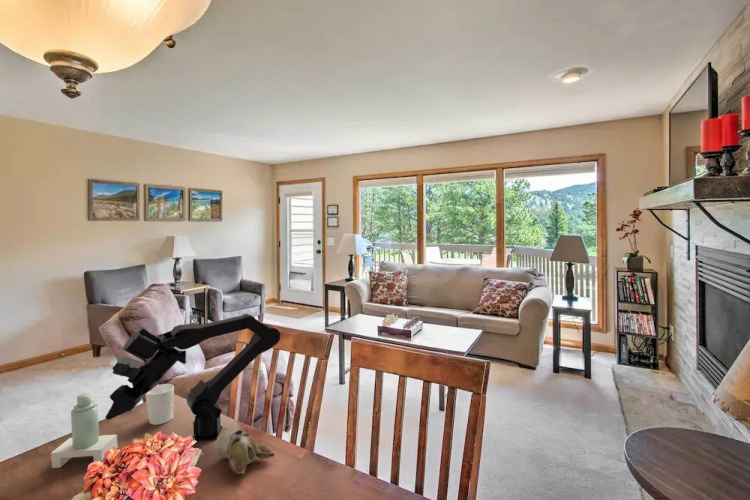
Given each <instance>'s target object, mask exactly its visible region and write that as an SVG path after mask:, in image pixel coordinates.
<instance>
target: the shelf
mask: <svg viewBox="0 0 750 500" xmlns="http://www.w3.org/2000/svg"><path fill="white" fill-rule="evenodd" d="M118 446H119V445H118V434H105V435H104V434H103V435H99V441H98V442H97V443H96V444H95V445H93V446H91V447H88V448H84V449H74V448H73V444H72V437H69V438H68V439H67V440H65V441H64V442H63V443H61V444H60V445H59V446H58V447H57V448H55V449H54V450H53V451H52V452H50V458H51V460H50V461H51V468H52V469H59V468H61V467H63V466H64V465H65V464H66V463H67V462H68V461H70V459H72V458H79V457H80V458H83V457H93V462H94V461H101V460H103V458H104V454H105V453H106V452H107V451H108V450H109V449H110V448H113V447H115V448H118V449H119V447H118Z"/></svg>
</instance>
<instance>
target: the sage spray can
mask: <svg viewBox="0 0 750 500" xmlns="http://www.w3.org/2000/svg"><path fill="white" fill-rule="evenodd" d="M91 395H92V394H91V393H89V392H87V393H82V394H79V395H78V396H77V398H76V400H77V401H76V402H77V404H75V405H74V406H73V409H71V411H70V418H71V420H70V421H71V423H70V424H71V438H72V444H73V448H74V449H84V448H88V447H91V446H93V445H95V444H96V443H97V442H98V441H99V436H100V432H99V431H100V430H99V429H100V428H99V407H98V406H99V405H98V404H96V402H95V401H93V400H91V399H92V398H91Z"/></svg>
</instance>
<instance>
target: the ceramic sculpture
mask: <svg viewBox="0 0 750 500" xmlns="http://www.w3.org/2000/svg"><path fill="white" fill-rule="evenodd" d="M221 431H222V432H221V433H220V434H221V435H220V438H219V442H218V445H217V446H218V447H217V454H218V456H219V457H220V459H227V460H228V462H227V463H228V466H229V468H230V470H231V471H232V472H233V474H234V475H238V476H242V477H244V476H245V474H246V471H247V468H248V467H247V466H248V464H251V463H252V462H253V461H254V460H255V458H256V457H257V458H258V459H260V460H264V459H268V458H272V457H274V456H275V453H273V452H271V450H270V449H269V448H268V446H267V445H266V444H263V442H257V440H256V438H255V437H254V436H252V435H251V434H250V433H249V434H248V433H246V432H245V431H244V430H243V429H239V430H236V429H234V428H228V427H223V428H222V430H221Z"/></svg>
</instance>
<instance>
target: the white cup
mask: <svg viewBox="0 0 750 500" xmlns="http://www.w3.org/2000/svg"><path fill="white" fill-rule="evenodd" d="M144 395H145V402H146V409H147V415H148V422H149V424H150V425H155V426H156V425H163V424H165V423H168V422H169V421H171V420H172V419H173V418H174V408H175V386H174V385H173V384H172V383H162V384H157V385H156V386H155V387H154V388H153V389H152V390H150V391H149V392H147V393H145V394H144Z"/></svg>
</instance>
